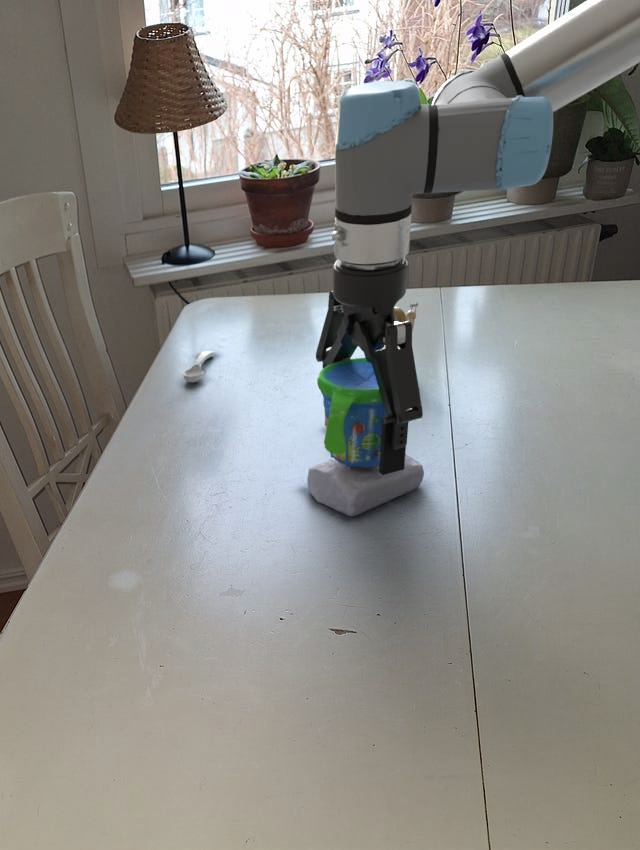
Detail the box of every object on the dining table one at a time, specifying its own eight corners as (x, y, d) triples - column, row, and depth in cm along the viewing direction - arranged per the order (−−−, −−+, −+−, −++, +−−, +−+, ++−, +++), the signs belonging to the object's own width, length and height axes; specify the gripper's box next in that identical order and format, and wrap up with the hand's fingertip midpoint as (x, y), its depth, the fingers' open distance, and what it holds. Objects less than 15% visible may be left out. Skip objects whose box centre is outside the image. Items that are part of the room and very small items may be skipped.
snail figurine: (392, 392, 130) (398, 308, 123) (367, 377, 135) (370, 295, 128) (424, 382, 132) (431, 299, 124) (398, 368, 137) (403, 286, 129)
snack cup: (366, 492, 101) (372, 403, 95) (287, 471, 107) (287, 385, 101) (434, 443, 110) (443, 359, 104) (357, 426, 116) (361, 345, 110)
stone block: (299, 503, 113) (353, 521, 105) (295, 466, 111) (350, 481, 103) (373, 474, 117) (430, 490, 109) (370, 438, 115) (429, 451, 107)
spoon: (181, 385, 139) (180, 372, 138) (199, 359, 148) (199, 347, 147) (200, 385, 138) (199, 372, 137) (217, 359, 148) (217, 347, 146)
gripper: (286, 236, 103) (288, 413, 116) (400, 300, 84) (387, 502, 97) (347, 224, 104) (342, 399, 118) (472, 284, 85) (449, 485, 99)
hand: (362, 446), depth 107 cm, fingers open, 13 cm apart
